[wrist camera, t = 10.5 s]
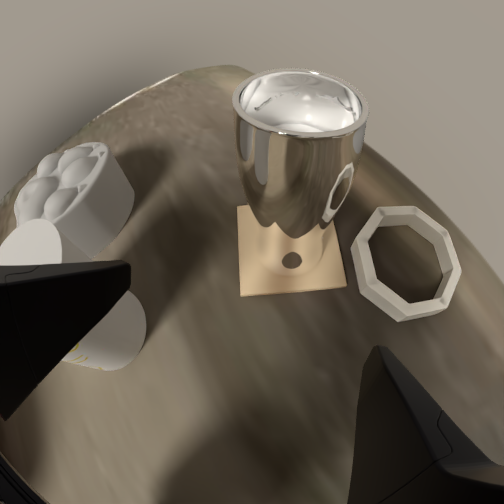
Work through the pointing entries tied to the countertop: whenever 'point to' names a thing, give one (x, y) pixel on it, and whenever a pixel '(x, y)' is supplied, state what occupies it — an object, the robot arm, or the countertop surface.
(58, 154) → the lumpy-topped squat cylinder
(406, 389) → the robot arm
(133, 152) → the countertop surface
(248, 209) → the coaster
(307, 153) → the beer glass
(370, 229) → the holder ring
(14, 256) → the cup
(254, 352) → the countertop surface
